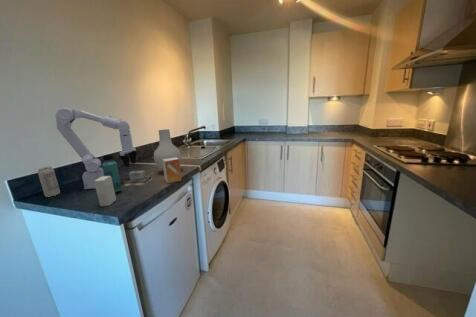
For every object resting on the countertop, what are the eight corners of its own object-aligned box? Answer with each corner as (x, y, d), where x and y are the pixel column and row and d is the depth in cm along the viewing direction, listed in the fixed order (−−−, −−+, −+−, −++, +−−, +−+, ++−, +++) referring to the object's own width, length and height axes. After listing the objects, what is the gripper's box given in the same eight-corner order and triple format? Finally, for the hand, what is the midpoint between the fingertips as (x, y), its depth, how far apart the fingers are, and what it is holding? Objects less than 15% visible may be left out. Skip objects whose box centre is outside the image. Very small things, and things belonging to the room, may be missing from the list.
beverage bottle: (109, 192, 104) (100, 154, 99) (123, 189, 107) (116, 152, 102) (106, 196, 98) (97, 157, 94) (121, 193, 101) (114, 155, 96)
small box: (167, 183, 112) (164, 161, 109) (164, 180, 117) (161, 159, 114) (182, 180, 116) (179, 158, 113) (178, 177, 121) (176, 156, 118)
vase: (187, 168, 140) (182, 128, 133) (172, 176, 125) (166, 131, 118) (166, 167, 145) (161, 128, 138) (150, 174, 130) (143, 131, 123)
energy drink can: (57, 192, 107) (49, 165, 103) (63, 194, 104) (55, 166, 101) (43, 197, 102) (34, 168, 98) (48, 199, 99) (39, 170, 96)
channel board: (124, 186, 112) (123, 181, 111) (132, 180, 120) (131, 176, 120) (146, 184, 112) (145, 180, 111) (152, 179, 121) (151, 175, 120)
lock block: (130, 182, 114) (129, 173, 113) (134, 180, 118) (132, 171, 116) (143, 181, 114) (141, 172, 113) (146, 179, 118) (144, 170, 117)
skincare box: (107, 200, 94) (101, 176, 91) (116, 199, 94) (111, 175, 91) (99, 206, 88) (93, 180, 85) (109, 205, 88) (103, 180, 85)
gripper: (127, 144, 109) (131, 167, 113) (139, 140, 124) (142, 161, 127) (114, 144, 109) (118, 168, 113) (127, 140, 123) (131, 162, 127)
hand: (130, 164), depth 120 cm, fingers open, 7 cm apart
